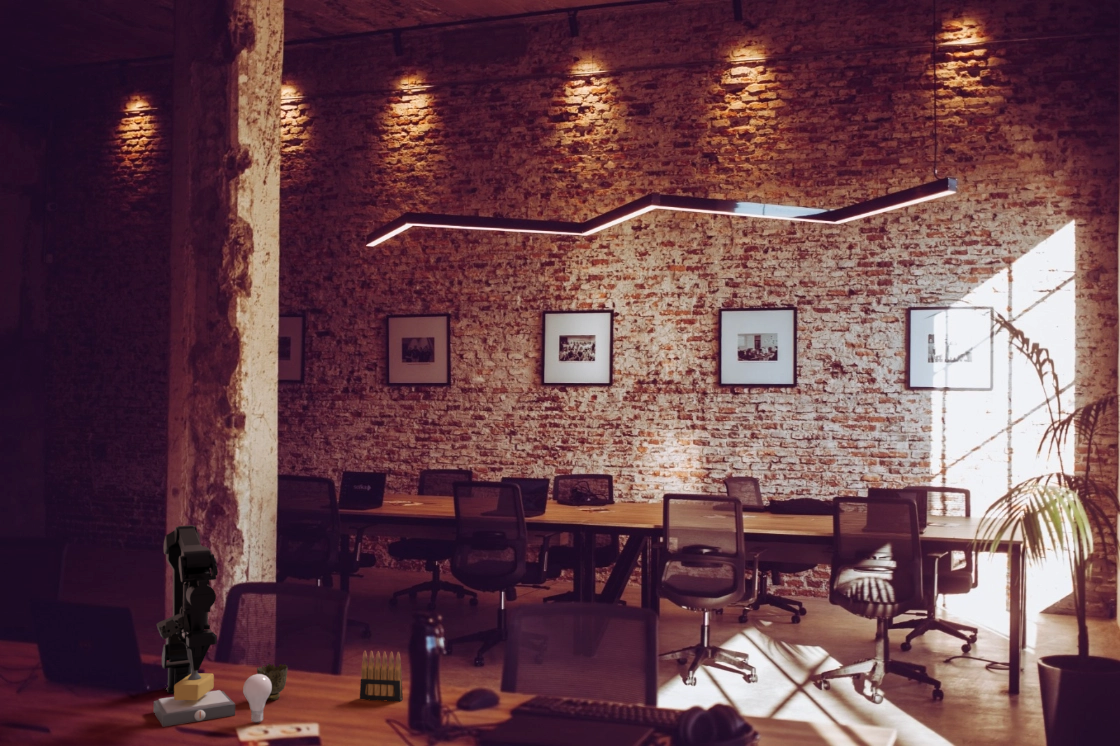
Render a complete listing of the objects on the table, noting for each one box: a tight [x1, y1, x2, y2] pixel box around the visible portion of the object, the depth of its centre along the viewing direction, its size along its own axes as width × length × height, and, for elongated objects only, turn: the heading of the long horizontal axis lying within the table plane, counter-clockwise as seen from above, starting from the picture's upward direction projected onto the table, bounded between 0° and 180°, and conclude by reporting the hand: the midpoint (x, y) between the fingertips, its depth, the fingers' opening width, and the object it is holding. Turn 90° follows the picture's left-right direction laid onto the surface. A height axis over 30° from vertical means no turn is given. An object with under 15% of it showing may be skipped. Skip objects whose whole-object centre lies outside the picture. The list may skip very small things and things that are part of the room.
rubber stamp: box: [173, 648, 215, 700], centre depth 227 cm, size 10×6×12 cm, turn 179°
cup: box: [256, 663, 289, 702], centre depth 239 cm, size 8×7×8 cm
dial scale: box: [153, 689, 236, 728], centre depth 227 cm, size 14×16×3 cm
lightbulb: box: [242, 673, 272, 724], centre depth 220 cm, size 6×6×11 cm
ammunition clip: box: [359, 650, 403, 703], centre depth 238 cm, size 11×2×12 cm, turn 80°
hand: (194, 668), depth 227 cm, fingers closed on rubber stamp, 3 cm apart
